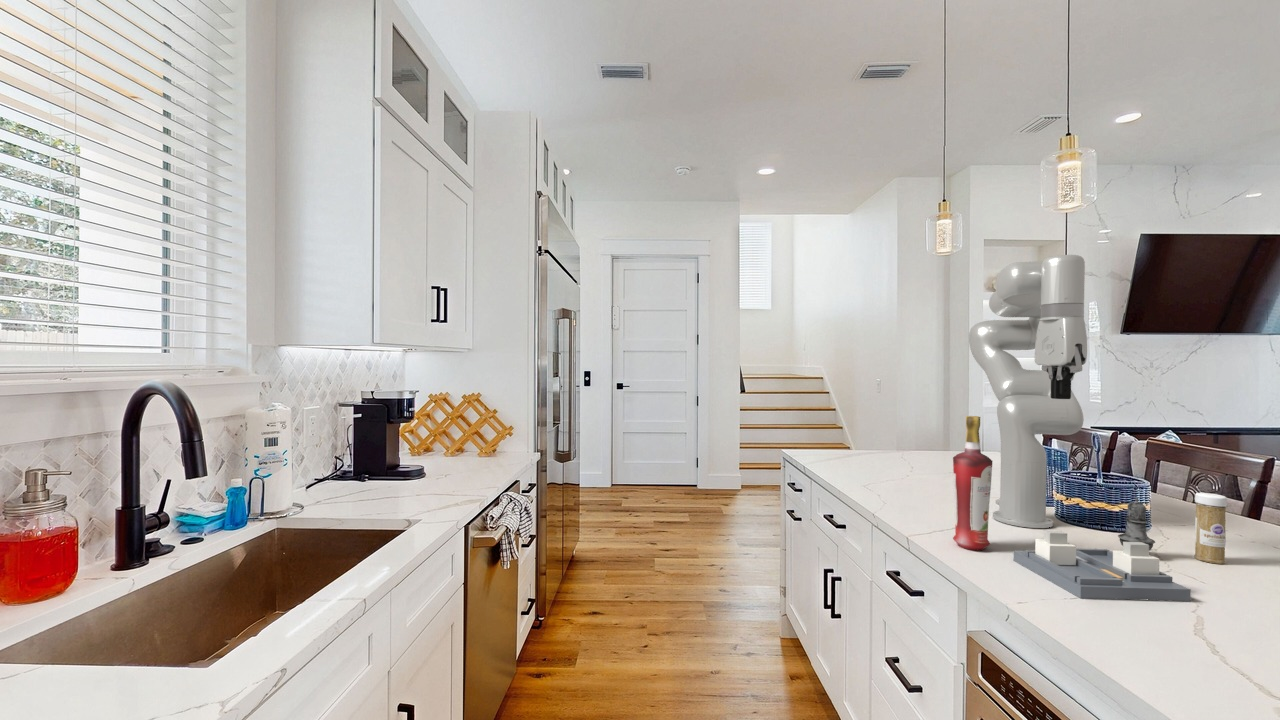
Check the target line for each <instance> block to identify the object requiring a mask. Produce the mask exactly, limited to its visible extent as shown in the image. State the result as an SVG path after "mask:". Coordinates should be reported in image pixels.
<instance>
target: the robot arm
mask: <svg viewBox="0 0 1280 720" xmlns="http://www.w3.org/2000/svg"><path fill="white" fill-rule="evenodd" d="M1085 263H1086V262H1085V259H1084V257H1082V256H1081V255H1078V254H1061V255H1060V254H1059V255H1053V256H1049V257H1046V258H1044V259H1043V261H1042V260H1041V261H1039V260H1038V261H1037V260H1036V261H1019V262H1013V263H1009V264H1008V265H1006V266H1005V267H1004V268H1002V269H1001V270H1000V271H999V273H998V275H997V277H996V280H995V291H994V292H993V293H992V294H991V296H990V297H989V301H988V307H989V309H990V310H991V312H992V313H993V314H995V315H997V316H999V317H1003V318H1028V319H994V320H993V319H992V320H983V321H979V322H977V323H976V324H974V325H973V326H972V327H971V328H970V329H969V334H968V342H969V349H970V351H971V355H972V357H973V359H974V360H975V362H977V364H978V366H980V368H981V369H982V370H983V372H984V373H985V375H986V378H987V380H988V381H989V384H990V387H991V389H992V391H993V393H994V395H995V397H996V399H997V400H998V401H999V402H998V403H997V406H996V415H997V421H998V428H999V436H1000V438H999V439H1000V487H999V488H1000V489H999V493H1000V494H999V497H1000V498H999V499H996V500H995V504H996V505H998V509H999V510H996V511H993V512H992V518H993V519H994V520H995V521H997V522H1000V523H1003V524H1008V525H1012V526H1014V527H1015V526H1016V527H1020V528H1021V527H1023V528H1030V529H1048V528H1049V527H1050V528H1052V527H1053V526H1054V520H1053V519H1052V518H1050V517H1047V516H1046V515H1047V514H1046V512H1047V511H1046V509H1047V465H1048V464H1047V453H1046V452H1047V451H1046V449H1045V447H1044V446H1043V444H1042V443H1041V442H1040V441H1039V440H1038V439H1037V437H1036V436H1035V435H1054V436H1055V435H1056V436H1070V435H1073V434H1074V435H1075V434H1076V433H1078V432H1079V431H1080V430H1082V428H1083V426H1084V413H1083V408H1082V406H1081V404H1080V402H1079V401H1078V399H1077V397H1076V396H1075V394H1074V392H1073V389H1072V381H1073V380H1074V376H1075V374H1077V373H1079V372H1082V371H1083V366H1084V365H1085V364H1086V363H1087V360H1088V337H1087V328H1086V322H1085V282H1086V281H1085V276H1086V275H1085V274H1086V270H1085V269H1086V267H1085V266H1086V265H1085ZM1030 350H1031V351H1033V350H1034V363H1035V364H1036V365H1038V366H1041V369H1040V370H1039V369H1025V368H1023V367H1022V363H1021V362H1020V361H1019V360H1018V359H1017V357H1015V356H1014V355H1013V354H1011V353H1009V352H1007V351H1030Z"/></svg>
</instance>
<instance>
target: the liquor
mask: <svg viewBox="0 0 1280 720" xmlns="http://www.w3.org/2000/svg"><path fill="white" fill-rule="evenodd" d="M965 427H966V436H965V443H964V451H962V452H959V453H957V454H956V455H954V456H953V457H952V461H953V462H952V463H953V465H952V466H953V469H952V471H953V489H954V490H953V491H954V492H953V493H954V515H955V516H954V517H955V519H954V523H955V525H954V526H955V528H954V529H955V530H954V531H955V534H954V535H953V536H952V539H953V541H954V542H955V543H956V544H957V545H958V546H959V548H963V549H965V550H968V551H969V550H970V551H983V550H985V549H986V548H987V547H989V546H990V545H991V543H990V541H989V539H988V536H989V515H990V502H991V501H990V500H991V490H992V474H993V473H992V472H993V460H992V459H991V458H990V457H989V456H987V455H985V454H983V453H982V452H981V441H980V427H981V416H977V415H966V416H965Z"/></svg>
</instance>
